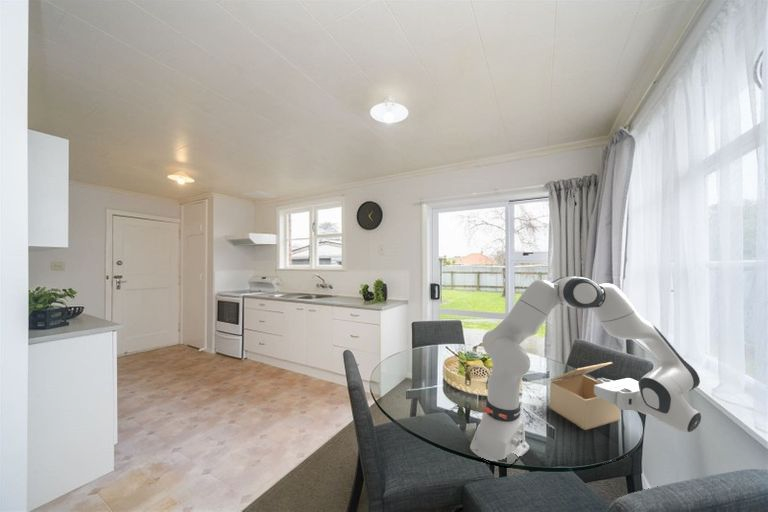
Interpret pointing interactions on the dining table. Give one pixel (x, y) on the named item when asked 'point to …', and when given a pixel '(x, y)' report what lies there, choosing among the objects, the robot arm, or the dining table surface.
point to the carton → (581, 403)
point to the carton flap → (580, 371)
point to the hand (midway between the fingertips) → (598, 379)
